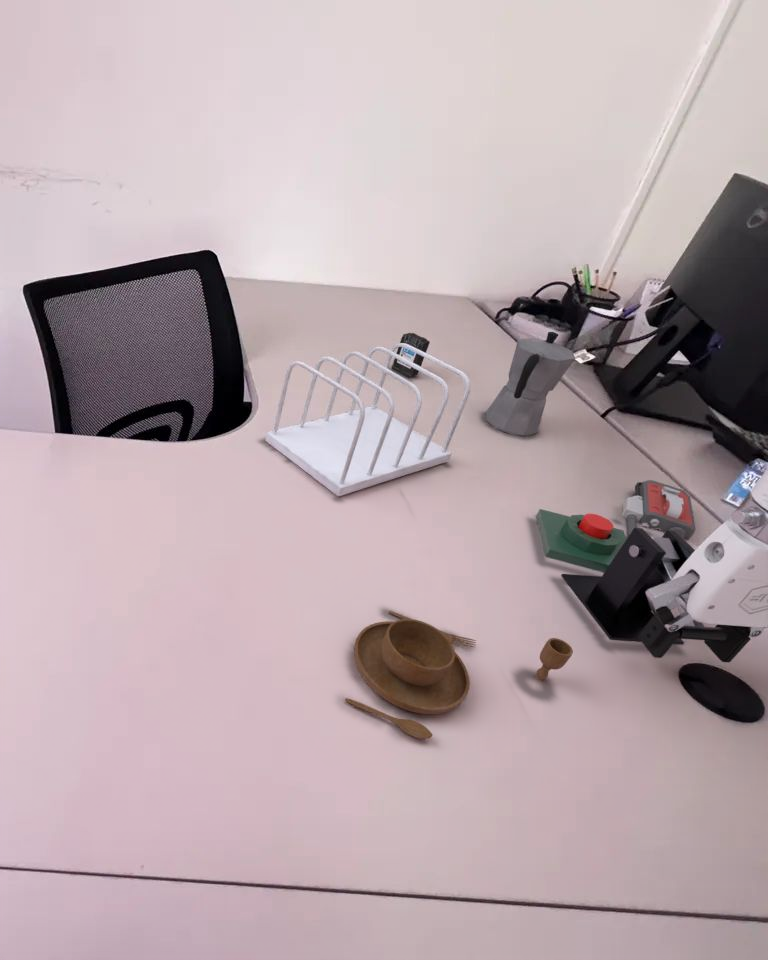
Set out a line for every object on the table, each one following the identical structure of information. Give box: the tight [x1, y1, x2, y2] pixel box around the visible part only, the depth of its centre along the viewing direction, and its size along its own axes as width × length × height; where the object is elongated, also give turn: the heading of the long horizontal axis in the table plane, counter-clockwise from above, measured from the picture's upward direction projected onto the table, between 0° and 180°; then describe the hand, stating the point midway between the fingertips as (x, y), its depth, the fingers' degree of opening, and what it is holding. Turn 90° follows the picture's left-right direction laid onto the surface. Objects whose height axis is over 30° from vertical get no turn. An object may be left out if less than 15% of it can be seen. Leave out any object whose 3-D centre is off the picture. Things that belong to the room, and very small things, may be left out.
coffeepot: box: [485, 331, 576, 437], centre depth 119 cm, size 15×9×18 cm, turn 137°
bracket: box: [560, 527, 696, 645], centre depth 81 cm, size 11×9×12 cm
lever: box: [650, 536, 727, 641], centre depth 76 cm, size 12×5×2 cm, turn 0°
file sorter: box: [264, 342, 471, 497], centre depth 107 cm, size 25×17×16 cm
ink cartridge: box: [391, 332, 431, 379], centre depth 137 cm, size 5×2×8 cm, turn 34°
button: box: [578, 513, 614, 539], centre depth 92 cm, size 4×4×2 cm
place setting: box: [344, 610, 574, 740], centre depth 70 cm, size 18×20×6 cm
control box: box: [535, 508, 628, 573], centre depth 93 cm, size 11×10×4 cm
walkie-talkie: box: [621, 479, 697, 541], centre depth 100 cm, size 9×4×20 cm
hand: (682, 649), depth 74 cm, fingers open, 7 cm apart
